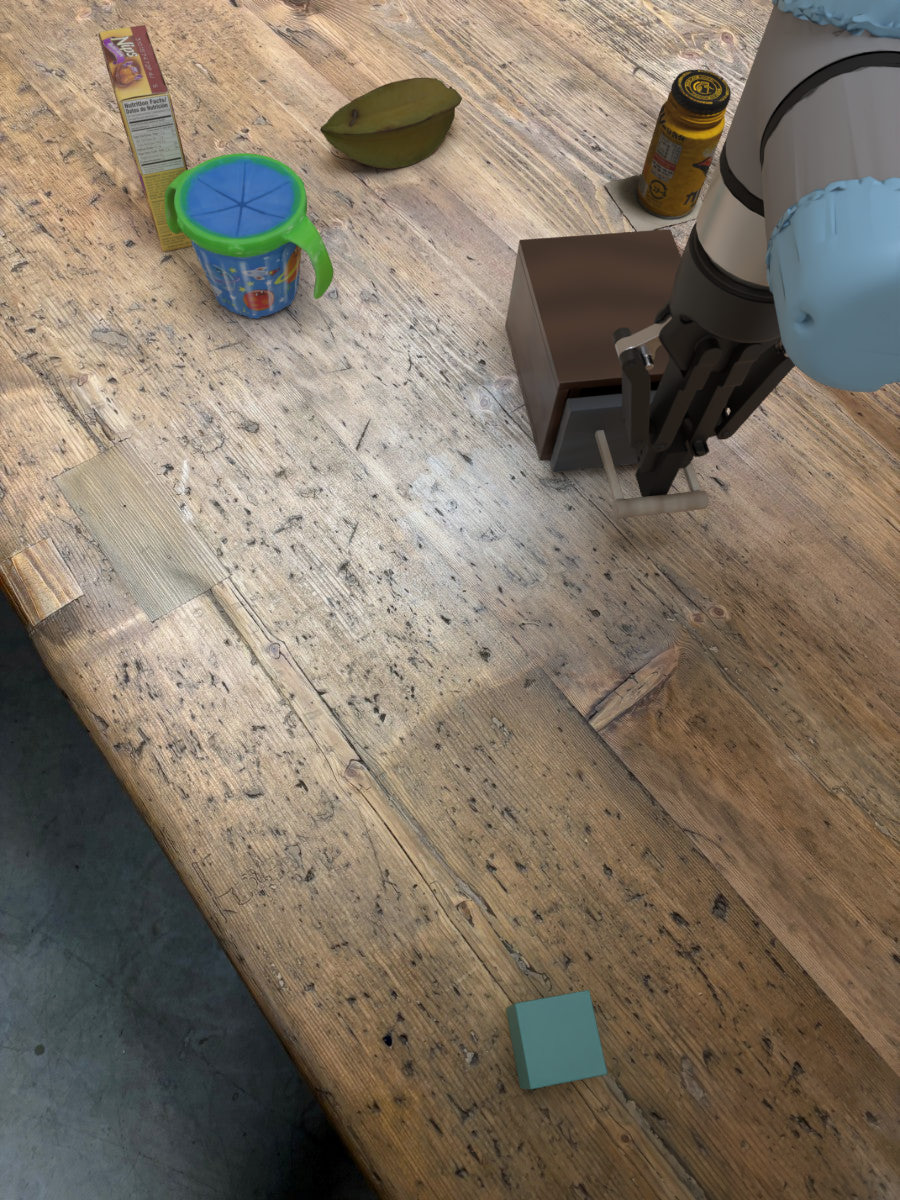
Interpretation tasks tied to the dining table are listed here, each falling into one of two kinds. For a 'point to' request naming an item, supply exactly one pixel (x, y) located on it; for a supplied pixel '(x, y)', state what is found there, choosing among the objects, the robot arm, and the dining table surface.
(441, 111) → the fruit
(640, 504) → the drawer
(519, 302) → the cabinet
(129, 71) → the candy box
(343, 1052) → the dining table surface
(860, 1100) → the dining table surface
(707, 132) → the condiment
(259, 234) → the snack cup
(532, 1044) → the block
